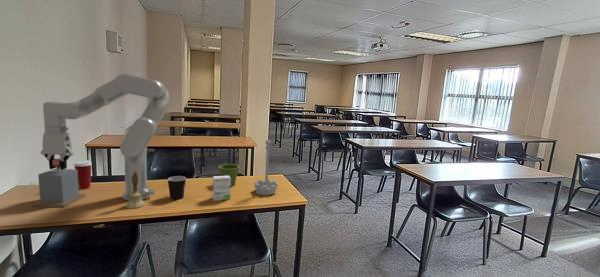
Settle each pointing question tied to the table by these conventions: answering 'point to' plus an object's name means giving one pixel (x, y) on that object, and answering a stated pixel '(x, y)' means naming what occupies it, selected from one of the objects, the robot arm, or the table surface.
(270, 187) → the flag stand
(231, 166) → the plant pot
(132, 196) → the hand bell
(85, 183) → the paper cup
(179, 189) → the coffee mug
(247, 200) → the table surface
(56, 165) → the plunger
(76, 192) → the block
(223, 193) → the ink box
